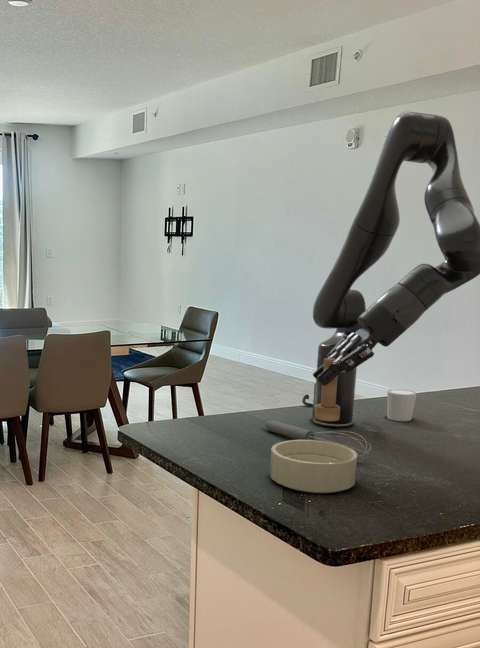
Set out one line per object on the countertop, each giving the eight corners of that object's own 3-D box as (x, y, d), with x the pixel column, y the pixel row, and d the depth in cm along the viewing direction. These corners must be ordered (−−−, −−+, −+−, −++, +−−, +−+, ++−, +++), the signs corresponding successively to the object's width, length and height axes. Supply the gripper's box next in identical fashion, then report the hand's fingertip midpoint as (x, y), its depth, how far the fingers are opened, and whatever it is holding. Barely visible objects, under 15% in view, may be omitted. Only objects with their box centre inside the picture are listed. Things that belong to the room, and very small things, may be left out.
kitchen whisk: (273, 426, 174) (274, 402, 173) (377, 467, 144) (379, 437, 142) (252, 429, 172) (254, 404, 170) (353, 471, 142) (356, 441, 140)
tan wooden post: (310, 416, 135) (314, 357, 132) (331, 414, 136) (335, 356, 133) (322, 421, 131) (327, 361, 128) (344, 420, 132) (348, 360, 129)
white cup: (418, 421, 177) (421, 394, 176) (391, 422, 177) (394, 394, 176) (406, 414, 184) (409, 388, 182) (380, 415, 184) (382, 389, 182)
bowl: (256, 471, 142) (257, 442, 141) (326, 465, 145) (328, 437, 144) (294, 498, 127) (296, 467, 126) (372, 491, 130) (374, 460, 129)
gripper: (365, 297, 134) (296, 360, 138) (390, 304, 121) (313, 373, 125) (392, 324, 135) (322, 386, 139) (419, 334, 122) (341, 403, 125)
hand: (318, 380), depth 132 cm, fingers closed on tan wooden post, 2 cm apart
